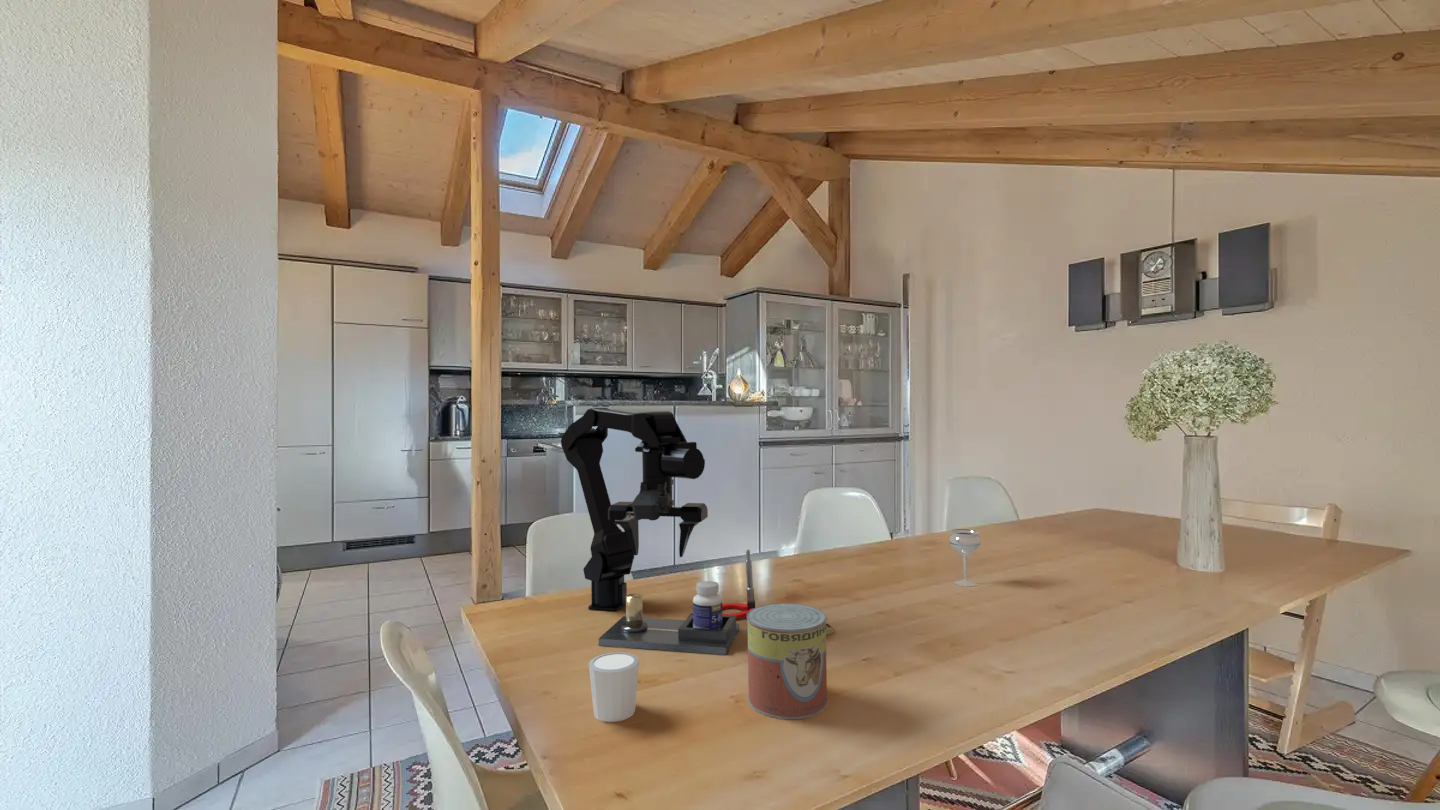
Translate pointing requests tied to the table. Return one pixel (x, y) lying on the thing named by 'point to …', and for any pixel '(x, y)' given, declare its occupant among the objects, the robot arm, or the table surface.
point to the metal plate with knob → (667, 632)
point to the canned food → (787, 660)
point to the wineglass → (964, 548)
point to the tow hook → (750, 593)
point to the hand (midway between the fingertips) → (658, 555)
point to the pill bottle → (707, 606)
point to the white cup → (614, 685)
